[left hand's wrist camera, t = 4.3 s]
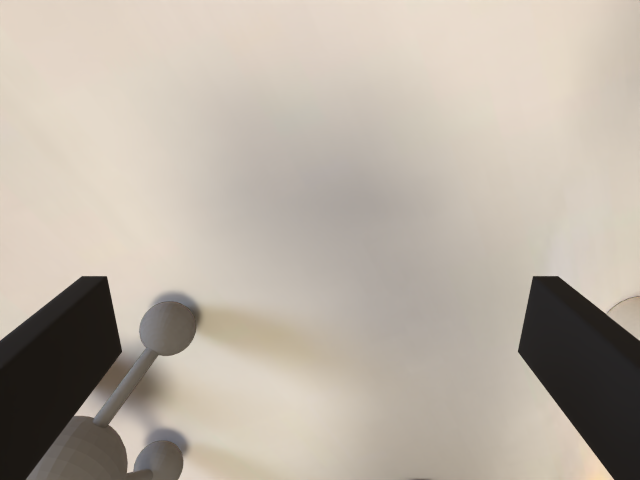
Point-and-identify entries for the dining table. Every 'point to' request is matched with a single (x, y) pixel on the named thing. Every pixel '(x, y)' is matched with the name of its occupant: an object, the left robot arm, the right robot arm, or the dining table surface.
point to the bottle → (628, 315)
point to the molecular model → (94, 433)
